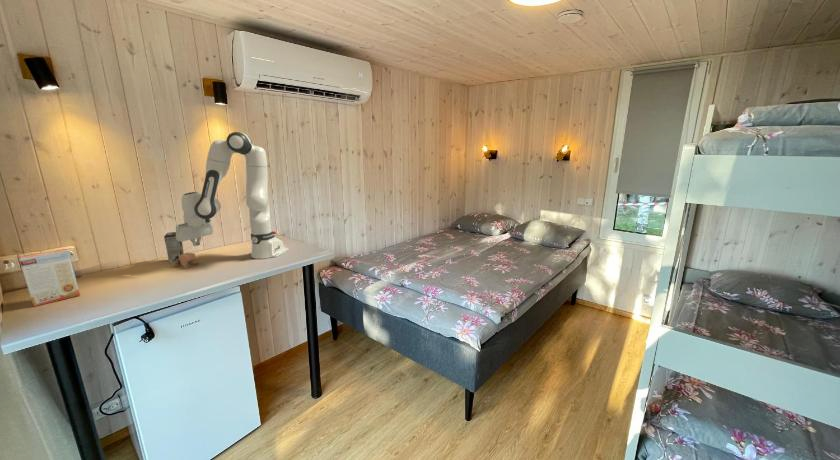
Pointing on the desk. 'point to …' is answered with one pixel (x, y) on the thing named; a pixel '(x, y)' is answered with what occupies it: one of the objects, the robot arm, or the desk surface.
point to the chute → (186, 264)
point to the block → (186, 257)
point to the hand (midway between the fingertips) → (196, 245)
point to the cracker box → (49, 276)
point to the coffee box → (173, 247)
